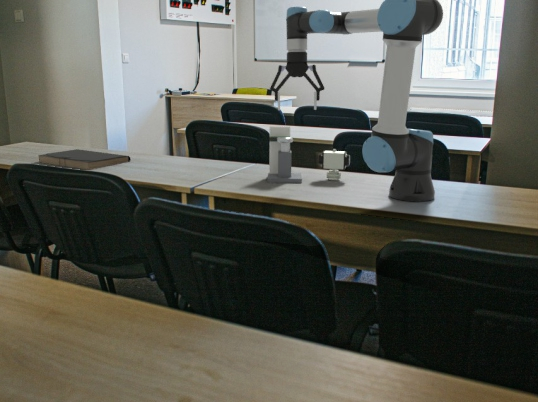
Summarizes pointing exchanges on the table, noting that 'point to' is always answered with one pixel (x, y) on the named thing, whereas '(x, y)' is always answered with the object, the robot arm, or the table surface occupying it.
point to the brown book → (83, 159)
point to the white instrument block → (283, 142)
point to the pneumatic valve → (334, 162)
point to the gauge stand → (280, 159)
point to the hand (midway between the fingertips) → (297, 109)
